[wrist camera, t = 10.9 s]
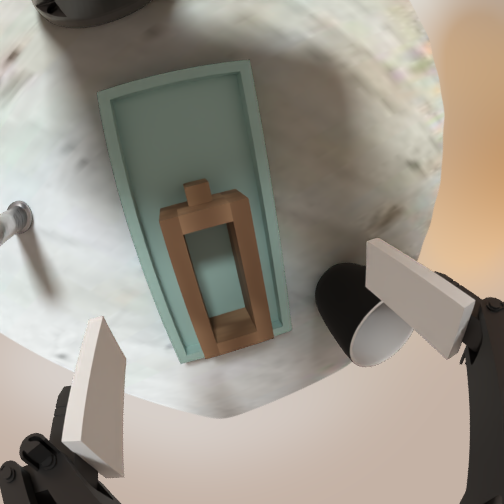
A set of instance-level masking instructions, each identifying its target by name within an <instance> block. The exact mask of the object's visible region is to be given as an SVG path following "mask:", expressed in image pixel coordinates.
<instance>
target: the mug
mask: <svg viewBox="0 0 504 504" xmlns="http://www.w3.org/2000/svg"><path fill="white" fill-rule="evenodd" d="M365 284H366V266H361V265H358V264H353V263H342V264H338V265H336V266H333V267H332V268H330V269H329V270H328V271H327V272H325V274H324V275H323V276H322V277H321V279H320V280H319V282H318V285H317V288H316V304H317V307H318V310H319V312H320V314H321V316H322V318H323V320H324V322H325V324H326V326H327V327H328V329H329V330H330V332H331V334H332V335H333V337H334V338H335V340H336V341H337V343H338V344H339V345H340V347H341V348H342V350H343V351H344V352H345V354H346V355H347V356H348V357H349V358H350V359H351V361H352V362H354V363H355V364H356V365H358V366H361V367H371V366H375V365H378V364H380V363H382V362H384V361H386V360H387V359H389V358H390V357H392V356H393V355H394V354H395V353H396V352H397V351H399V350H400V349H401V347H402V346H403V345H404V344H405V343H406V341H407V340H408V339H409V337H410V336H411V334H412V332H413V330H414V329H413V328H412V327H411V326H410V325H409V324H407V323H406V322H405V321H404V320H403V319H402V318H401V317H400V316H398V315H397V314H396V313H395V312H394V311H393V310H392V309H391V308H389V307H388V306H387V305H386V304H385V303H384V302H383V301H381V300H380V299H379V298H378V297H377V296H376V295H375V294H373V293H372V292H371V291H370V290H369V289H368V288H366V287H365Z"/></svg>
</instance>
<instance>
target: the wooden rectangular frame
mask: <svg viewBox="0 0 504 504" xmlns="http://www.w3.org/2000/svg"><path fill="white" fill-rule="evenodd" d="M183 186H184V190H185V195H186V199H187V201H185V202H182V203H178V204H174V205H171V206H167V207H164V208H160V215H159V224H160V227H161V231H162V234H163V237H164V241H165V244H166V247H167V251H168V254H169V257H170V260H171V263H172V267H173V270H174V273H175V276H176V279H177V282H178V285H179V288H180V291H181V294H182V297H183V299H184V302H185V305H186V308H187V311H188V314H189V316H190V319H191V322H192V325H193V327H194V330H195V333H196V335H197V338H198V341H199V343H200V346H201V349H202V351H203V354H204V356H205V359H208V358H212V357H215V356H219V355H222V354H226V353H229V352H232V351H235V350H239V349H242V348H245V347H248V346H251V345H255V344H258V343H261V342H264V341H267V340H270V339H273V338H274V334H273V328H272V323H271V317H270V312H269V306H268V301H267V295H266V290H265V284H264V279H263V273H262V268H261V262H260V257H259V252H258V246H257V241H256V235H255V230H254V225H253V219H252V214H251V209H250V203H249V198H248V197H246V196H245V195H244V194H242V193H241V192H239V191H238V190H237V189H232V190H228V191H224V192H220V193H216V194H212V195H211V191H210V186H209V182H208V181H207V180H206V179H205V178H204V179H200V180H196V181H192V182H188V183H184V184H183ZM225 223H226V225H227V229H228V234H229V238H230V243H231V247H232V252H233V256H234V261H235V265H236V270H237V274H238V278H239V283H240V287H241V291H242V296H243V300H244V304H245V307H244V308H241V309H237V310H234V311H231V312H227V313H224V314H221V315H217V316H214V317H210V318H209V316H208V313H207V309H206V306H205V303H204V300H203V297H202V293H201V290H200V287H199V284H198V280H197V277H196V274H195V270H194V267H193V263H192V260H191V256H190V253H189V249H188V246H187V242H186V239H185V235H184V234H188V233H192V232H195V231H199V230H203V229H206V228H210V227H214V226H217V225H221V224H225Z"/></svg>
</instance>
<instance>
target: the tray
mask: <svg viewBox="0 0 504 504" xmlns="http://www.w3.org/2000/svg"><path fill="white" fill-rule="evenodd" d="M97 98H98V103H99V109H100V115H101V120H102V125H103V130H104V135H105V139H106V144H107V149H108V153H109V157H110V162H111V166H112V170H113V174H114V178H115V182H116V185H117V189H118V193H119V196H120V200H121V204H122V207H123V211H124V214H125V217H126V221H127V224H128V227H129V230H130V234H131V237H132V240H133V243H134V246H135V249H136V252H137V255H138V258H139V261H140V264H141V267H142V269H143V272H144V275H145V278H146V281H147V283H148V286H149V289H150V291H151V294H152V297H153V299H154V302H155V304H156V307H157V309H158V312H159V314H160V317H161V319H162V322H163V324H164V327H165V329H166V331H167V334H168V336H169V338H170V341H171V343H172V345H173V348H174V350H175V352H176V354H177V356H178V359H179V361H180V363H181V364H182V363H186V362H190V361H194V360H198V359H201V358H205V356H204V354H203V351H202V349H201V346H200V343H199V341H198V338H197V335H196V333H195V330H194V327H193V325H192V322H191V319H190V316H189V314H188V311H187V308H186V305H185V302H184V299H183V297H182V294H181V291H180V288H179V285H178V282H177V279H176V276H175V273H174V270H173V267H172V263H171V260H170V257H169V254H168V251H167V247H166V244H165V241H164V237H163V234H162V231H161V227H160V224H159V215H160V208H164V207H167V206H171V205H174V204H178V203H182V202H185V201H187V199H186V195H185V190H184V186H183V184H184V183H188V182H192V181H196V180H200V179H204V178H205V179H206V180H207V181H208V182H209V186H210V191H211V195H212V194H216V193H220V192H224V191H228V190H232V189H237V190H238V191H239V192H241V193H242V194H244V195H245V196H246V197H248V198H249V203H250V209H251V214H252V219H253V225H254V230H255V235H256V241H257V246H258V252H259V257H260V262H261V268H262V273H263V279H264V284H265V290H266V295H267V301H268V306H269V312H270V317H271V323H272V328H273V334H274V336H277V335H280V334H283V333H286V332H289V331H291V330H292V325H291V317H290V309H289V301H288V293H287V286H286V278H285V271H284V264H283V256H282V249H281V242H280V235H279V229H278V222H277V215H276V209H275V202H274V196H273V189H272V183H271V177H270V171H269V164H268V158H267V152H266V146H265V141H264V135H263V129H262V123H261V118H260V112H259V106H258V101H257V95H256V90H255V85H254V79H253V74H252V69H251V64H250V60H240V61H231V62H223V63H216V64H210V65H203V66H197V67H192V68H187V69H181V70H177V71H172V72H167V73H163V74H159V75H154V76H150V77H146V78H143V79H139V80H135V81H132V82H128V83H125V84H121V85H118V86H115V87H112V88H109V89H106V90H103V91H100V92H97ZM184 235H185V239H186V242H187V246H188V249H189V253H190V256H191V260H192V263H193V267H194V270H195V274H196V277H197V280H198V284H199V287H200V290H201V293H202V297H203V300H204V303H205V306H206V309H207V313H208V316H209V318H210V317H214V316H217V315H221V314H224V313H227V312H231V311H234V310H237V309H241V308H244V307H245V304H244V300H243V296H242V291H241V287H240V283H239V278H238V274H237V270H236V265H235V261H234V256H233V252H232V247H231V243H230V238H229V234H228V229H227V225H226V223H225V224H221V225H217V226H214V227H210V228H206V229H203V230H199V231H195V232H192V233H188V234H184Z"/></svg>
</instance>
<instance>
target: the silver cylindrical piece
mask: <svg viewBox="0 0 504 504" xmlns="http://www.w3.org/2000/svg"><path fill="white" fill-rule="evenodd" d="M31 223H32V212H31V209H30V208H29V206H28V205H27V204H26V203H25V202H23V201H15V202H13V203H12V204H10V206H9V207H8V209H7V211H5V212H3V213H2V214H0V246H1V245H2V244H3V243H5V242H6V241H7V240H8V239H10V238H11V237H12V236H14V235H15V234H16V233H19V234H20V233H24V232H25V231H27V230H28V229H29V228H30V226H31Z"/></svg>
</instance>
